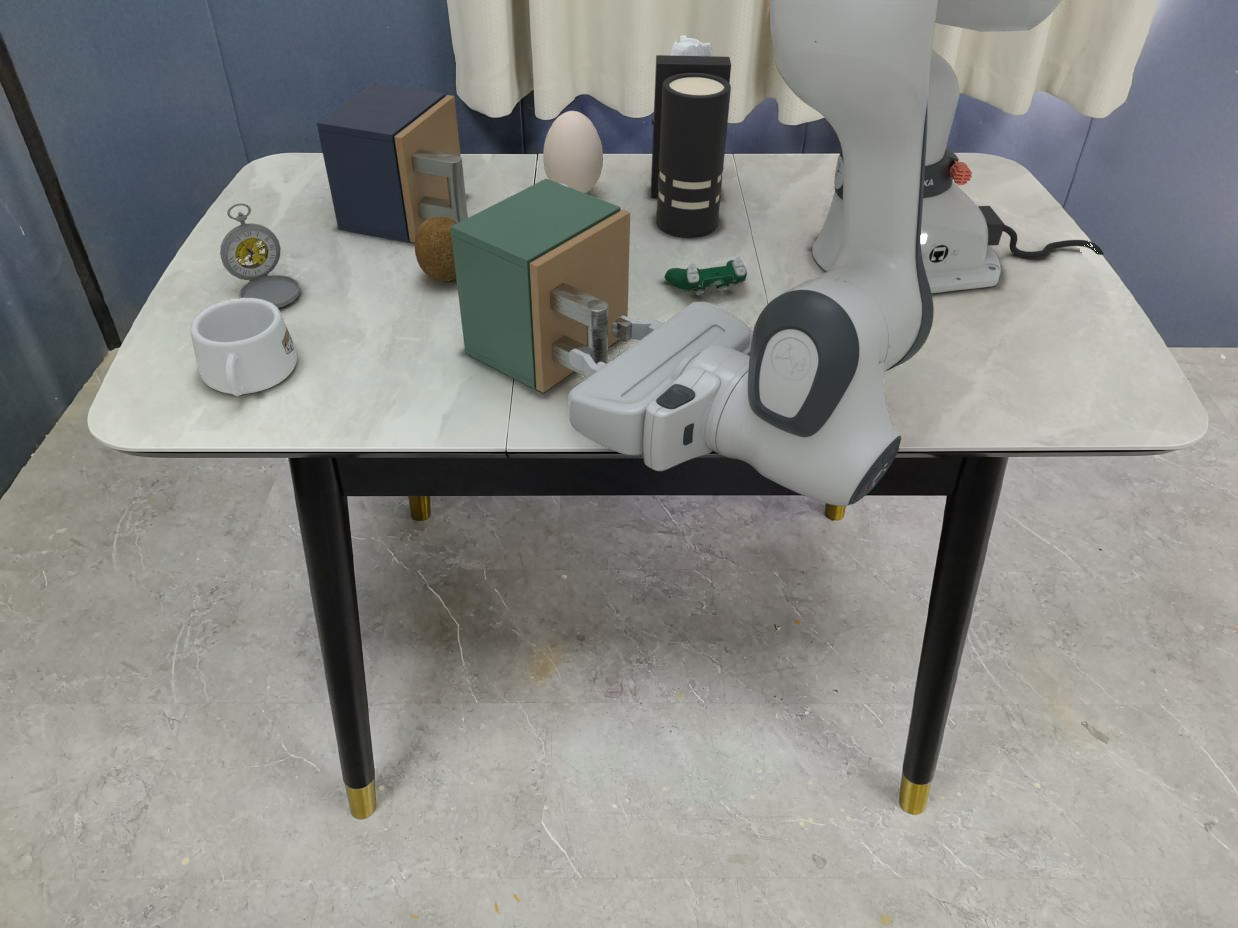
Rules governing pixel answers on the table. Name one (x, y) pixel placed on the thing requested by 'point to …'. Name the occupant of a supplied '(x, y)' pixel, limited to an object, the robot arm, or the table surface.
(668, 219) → the light fixture
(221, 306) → the mug
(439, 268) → the fruit
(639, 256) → the table surface
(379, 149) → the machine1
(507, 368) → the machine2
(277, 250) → the pocket watch
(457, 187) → the machine door
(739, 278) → the gaming controller
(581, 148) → the egg
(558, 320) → the machine door
